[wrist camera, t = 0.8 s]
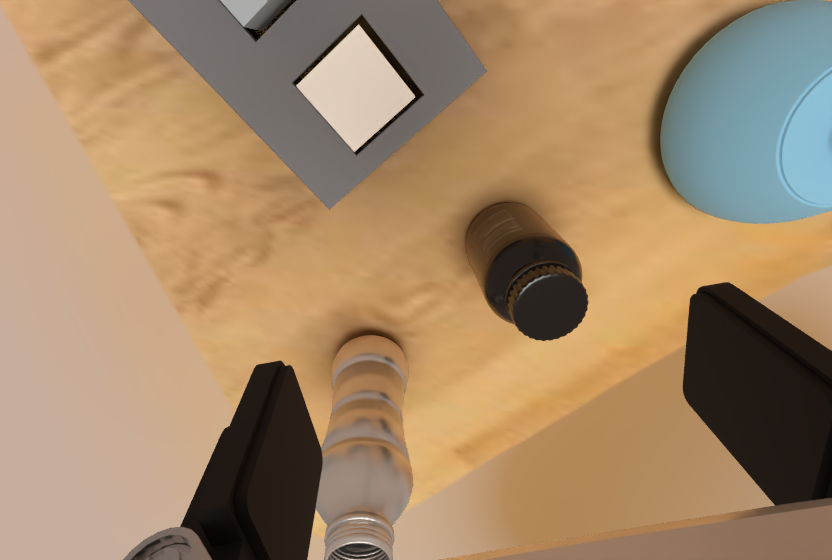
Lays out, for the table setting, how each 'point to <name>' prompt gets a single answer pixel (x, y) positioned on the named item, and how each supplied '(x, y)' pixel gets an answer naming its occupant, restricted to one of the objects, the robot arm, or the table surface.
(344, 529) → the plastic bottle
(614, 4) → the table surface
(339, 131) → the cream button
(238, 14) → the light gray button
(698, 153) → the sugar bowl
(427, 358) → the table surface
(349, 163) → the button panel
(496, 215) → the supplement bottle
